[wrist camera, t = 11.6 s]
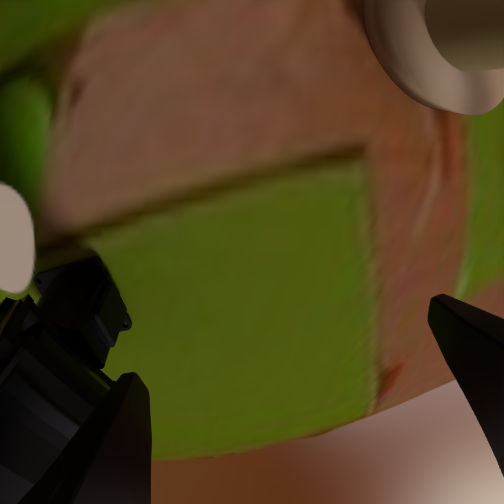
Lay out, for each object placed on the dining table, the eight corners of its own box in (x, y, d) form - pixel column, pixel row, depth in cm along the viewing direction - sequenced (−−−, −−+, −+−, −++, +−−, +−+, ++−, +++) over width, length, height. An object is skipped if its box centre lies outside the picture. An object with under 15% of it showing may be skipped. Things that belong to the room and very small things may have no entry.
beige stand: (381, 115, 18) (406, 119, 15) (343, -45, 12) (361, -62, 10) (495, 109, 18) (520, 115, 15) (469, -22, 12) (492, -27, 10)
